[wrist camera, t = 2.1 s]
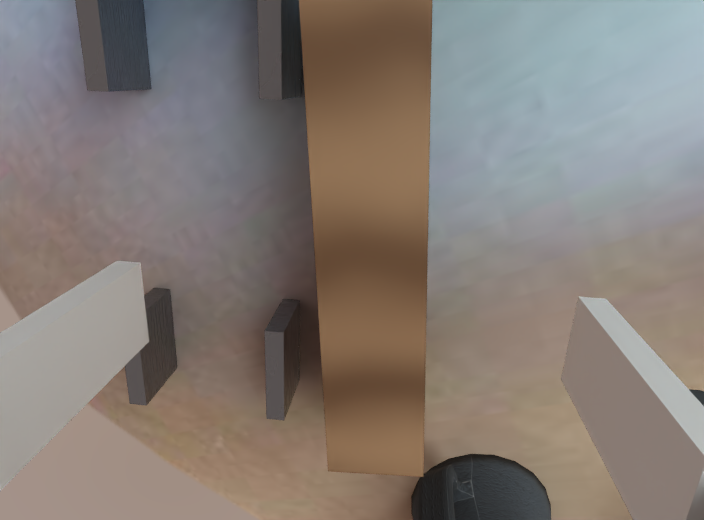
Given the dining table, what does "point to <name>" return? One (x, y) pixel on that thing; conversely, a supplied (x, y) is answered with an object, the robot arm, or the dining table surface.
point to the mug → (480, 491)
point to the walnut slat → (370, 223)
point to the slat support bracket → (132, 53)
